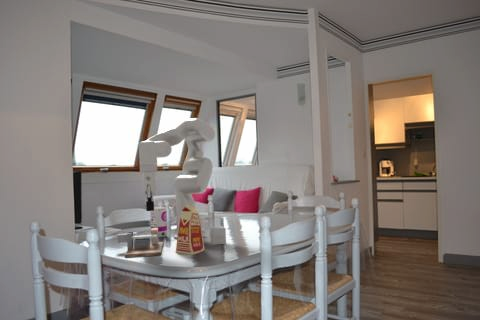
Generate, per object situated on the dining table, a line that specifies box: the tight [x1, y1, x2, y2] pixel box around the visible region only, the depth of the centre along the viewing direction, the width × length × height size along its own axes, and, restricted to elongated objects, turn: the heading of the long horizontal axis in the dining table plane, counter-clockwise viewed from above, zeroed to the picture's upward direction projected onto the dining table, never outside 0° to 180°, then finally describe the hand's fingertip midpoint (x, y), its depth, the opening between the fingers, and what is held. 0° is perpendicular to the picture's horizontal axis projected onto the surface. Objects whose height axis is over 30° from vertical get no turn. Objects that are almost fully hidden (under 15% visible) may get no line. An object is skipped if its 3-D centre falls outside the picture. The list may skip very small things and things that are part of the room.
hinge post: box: [126, 231, 134, 250], centre depth 161 cm, size 2×5×7 cm, turn 9°
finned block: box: [133, 238, 151, 250], centre depth 162 cm, size 6×7×4 cm
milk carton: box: [175, 204, 205, 256], centre depth 157 cm, size 9×9×20 cm
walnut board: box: [124, 241, 164, 258], centre depth 162 cm, size 14×23×1 cm, turn 9°
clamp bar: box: [117, 233, 157, 244], centre depth 162 cm, size 16×3×3 cm, turn 99°
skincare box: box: [209, 225, 227, 246], centre depth 173 cm, size 6×6×7 cm
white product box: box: [149, 206, 168, 239], centre depth 197 cm, size 8×8×15 cm
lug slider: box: [150, 228, 159, 244], centre depth 168 cm, size 3×7×7 cm, turn 9°
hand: (150, 210), depth 166 cm, fingers closed
